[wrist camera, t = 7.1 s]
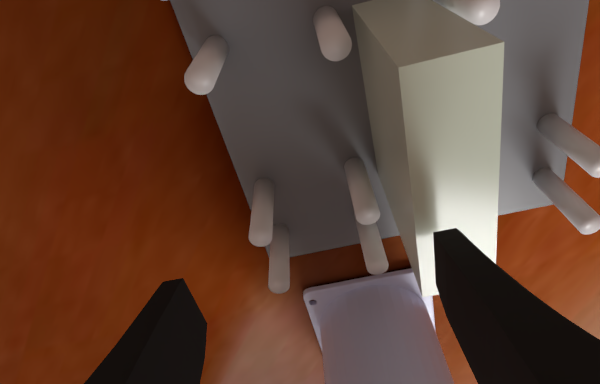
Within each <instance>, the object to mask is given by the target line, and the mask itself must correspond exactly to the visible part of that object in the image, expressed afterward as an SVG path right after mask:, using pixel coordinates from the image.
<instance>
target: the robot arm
mask: <svg viewBox="0 0 600 384" xmlns="http://www.w3.org/2000/svg"><path fill="white" fill-rule="evenodd" d="M433 238H434V258H435V278H436V286H437V289H438V292H439V295H440V298H441V301H442V304H443V307H444V310H445V313H446V316H447V318H448V321H449V323H450V325H451V327H452V329H453V331H454V333H455V336H456V338H457V340H458V342H459V344H460V346H461V348H462V350H463V353H464V355H465V357H466V359H467V361H468V363H469V365H470V367H471V369H472V372H473V374H474V376H475V378H476V380H477V382H478V384H600V340H599V339H597V338H596V337H594V336H593V335H591V334H589V333H588V332H586V331H585V330H583V329H582V328H580V327H579V326H577V325H576V324H574V323H572V322H571V321H569V320H568V319H567V318H565V317H564V316H562V315H561V314H559V313H558V312H557V311H555V310H554V309H552V308H551V307H549V306H548V305H547V304H545V303H544V302H543V301H541V300H540V299H539V298H537V297H536V296H535V295H533V294H532V293H531V292H529V291H528V290H527V289H526V288H524V287H523V286H522V285H521V284H519V283H518V282H517V281H516V280H514V279H513V278H512V277H511V276H510V275H508V274H507V273H506V272H505V271H504V270H502V269H501V268H500V267H499V266H498V265H497V264H495V263H494V262H493V261H492V260H491V259H490V258H489V257H487V256H486V255H485V254H484V253H483V252H482V251H481V250H480V249H479V248H478V247H476V246H475V245H474V244H473V243H472V242H471V241H470V240H469V239H468V238H467V237H466V236H465V235H464V234H463V233H462V232H461V231H460V230H458V229H457V228H453V229H448V230H442V231H437V232H433ZM303 299H304V302H305V304H306V307H307V310H308V313H309V316H310V319H311V322H312V325H313V327H314V330H315V333H316V336H317V339H318V342H319V345H320V348H321V350H322V355H323V367H324V379H325V384H454V382H453V379H452V376H451V374H450V371H449V368H448V365H447V363H446V360H445V357H444V354H443V351H442V349H441V346H440V343H439V340H438V338H437V335H436V330H435V319H434V308H433V297H432V296H427V297H422V295H421V292H420V289H419V287H418V284H417V281H416V278H415V275H414V273H413V270H412V268H410V269H404V270H399V271H394V272H389V273H384V274H379V275H373V276H368V277H363V278H358V279H352V280H347V281H342V282H337V283H332V284H326V285H321V286H316V287H311V288H307V289H305V290H304V292H303ZM311 300H313V301H311ZM206 331H207V323H206V321H205V319H204V317H203V315H202V313H201V311H200V309H199V308H198V306H197V304H196V302H195V300H194V298H193V296H192V294H191V292H190V291H189V289H188V287H187V285H186V283H185V281H184V279H183V278H182V279H176V280H171V281H165V282H163V283H162V284H161V285H160V287H159V288H158V289H157V290H156V292H155V293H154V294H153V296H152V297H151V299H150V300H149V301H148V303H147V304H146V305H145V307H144V308H143V309H142V311H141V312H140V314H139V315H138V316H137V318H136V319H135V320H134V322H133V323H132V324H131V326H130V327H129V328H128V330H127V331H126V332H125V334H124V335H123V336H122V338H121V339H120V340H119V342H118V343H117V344H116V345H115V347H114V348H113V349H112V350H111V352H110V353H109V354H108V355H107V356H106V358H105V359H104V360H103V361H102V363H101V364H100V365H99V366H98V367H97V369H96V370H95V371H94V372H93V374H92V375H91V376H90V377H89V378H88V380H87V381H86V382H85V383H84V384H200V379H201V374H202V369H203V364H204V358H205V347H206Z"/></svg>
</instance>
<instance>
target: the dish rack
mask: <svg viewBox="0 0 600 384" xmlns="http://www.w3.org/2000/svg"><path fill="white" fill-rule="evenodd" d="M162 1H167V0H162ZM170 1H171V4H172V7H173V9H174V12H175V14H176V17H177V20H178V22H179V25H180V27H181V30H182V33H183V35H184V38H185V40H186V43H187V46H188V48H189V51H190V53H191V56H192V59H193V61H192V63H191V64H190V66H189V67H188V69H187V70H186V72H185V75H184V81H185V84H186V86H187V88H188V89H189V90H190V91H191V92H193V93H195V94H198V95H205V94H206V95H207V97H208V100H209V103H210V105H211V108H212V110H213V113H214V116H215V118H216V121H217V123H218V126H219V129H220V131H221V134H222V136H223V139H224V142H225V144H226V147H227V149H228V152H229V155H230V157H231V160H232V162H233V165H234V168H235V170H236V173H237V175H238V178H239V181H240V183H241V186H242V188H243V191H244V194H245V196H246V199H247V201H248V204H249V207H250V209H251V220H250V229H249V241H250V242H251V243H252V244H253V245H255V246H258V247H263V246H265V248H266V251H267V253H268V256H269V281H268V287H269V289H270V290H271V291H272V292H274V293H284V292H286V291H288V290H289V288H290V257H294V256H299V255H304V254H309V253H314V252H319V251H324V250H329V249H334V248H339V247H344V246H349V245H354V244H359V243H361V247H362V251H363V255H364V260H365V264H366V268H367V271H368V272H369V273H370V274H373V275H379V274H382V273H384V272H386V271H387V269H388V267H389V264H388V261H387V257H386V254H385V251H384V247H383V244H382V241H381V239H383V238H388V237H393V236H398V235H400V234H399V231H398V228H397V226H396V223H395V220H394V217H393V214H392V212H391V209H390V206H389V203H388V201H387V198H386V195H385V192H384V189H383V187H382V184H381V181H380V178H379V176H378V171H377V165H376V158H375V152H374V145H373V139H372V133H371V126H370V120H369V113H368V107H367V100H366V94H365V87H364V81H363V75H362V68H361V62H360V55H359V49H358V42H357V36H356V30H355V23H354V17H353V10H352V5H355V4H359V3H363V2H367V1H371V0H170ZM432 1H434V2H436V3H437V4H439V5H441V6H443V7H444V8H446V9H448V10H450V11H451V12H453V13H455V14H457V15H458V16H460V17H462V18H464V19H465V20H467V21H469V22H471V23H472V24H474V25H476V26H478V27H479V28H481V29H483V30H485V31H486V32H488V33H490V34H492V35H493V36H495V37H497V38H498V39H500V40H502V41H504V67H503V93H502V118H501V144H500V169H499V195H498V215H503V214H508V213H513V212H518V211H523V210H528V209H533V208H538V207H543V206H548V205H552V204H554V205H555V206H556V207H557V208H558V209H559V210H560V211H561V212H562V213H563V214H564V215H565V217H566V218H567V219H568V220H569V221H570V222H571V223H572V224H573V225H574V226H575V227H576V228H577V229H578V230H579V232H580V233H582V234H592V233H594V232H596V231H598V230H599V229H600V216H599V215H598V214H597V213H596V212H595V211H594V210H593V209H592V208H591V207H590V206H589V205H588V204H587V203H586V202H585V201H584V200H583V199H582V198H581V197H579V196H578V195H577V194H576V193H575V192H574V191H573V190H572V189H571V188H570V187H569V186H568V185H567V184H566V183H565V182H564V176H565V168H566V161H567V155H568V156H569V157H570V158H571V159H572V160H573V161H575V162H576V163H577V164H578V165H579V166H581V167H582V168H583V169H584V170H585V171H586V172H588V173H589V174H590V175H591V176H593V177H597V178H598V177H600V146H599V145H597V144H596V143H595V142H593V141H592V140H590V139H589V138H588V137H586V136H585V135H584V134H582V133H581V132H579V131H578V130H577V129H575V128H574V127H573V126H572V118H573V111H574V104H575V97H576V90H577V83H578V76H579V69H580V61H581V54H582V47H583V40H584V33H585V26H586V19H587V12H588V4H589V0H432Z"/></svg>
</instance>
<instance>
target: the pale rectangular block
mask: <svg viewBox="0 0 600 384" xmlns="http://www.w3.org/2000/svg"><path fill="white" fill-rule="evenodd" d="M352 10H353V17H354V23H355V30H356V36H357V42H358V49H359V55H360V62H361V68H362V75H363V81H364V87H365V94H366V100H367V107H368V113H369V120H370V126H371V133H372V139H373V145H374V152H375V158H376V165H377V171H378V176H379V178H380V181H381V184H382V187H383V189H384V192H385V195H386V198H387V201H388V203H389V206H390V209H391V212H392V214H393V217H394V220H395V223H396V226H397V228H398V231H399V234H400V237H401V239H402V242H403V245H404V248H405V250H406V253H407V256H408V259H409V262H410V264H411V267H412V270H413V273H414V275H415V278H416V281H417V284H418V287H419V289H420V292H421V295H422V297H427V296H432V295H438V294H439V292H438V289H437V286H436V278H435V258H434V238H433V232H437V231H442V230H448V229H453V228H457V229H458V230H460V231H461V232H462V233H463V234H464V235H465V236H466V237H467V238H468V239H469V240H470V241H471V242H472V243H473V244H474V245H475V246H476V247H478V248H479V249H480V250H481V251H482V252H483V253H484V254H485V255H486V256H487V257H489V258H490V259H491V260H492V261H493V262H494V263H495V264H496V246H497V221H498V195H499V169H500V144H501V118H502V93H503V67H504V41H502V40H500V39H498V38H497V37H495V36H493V35H492V34H490V33H488V32H486V31H485V30H483V29H481V28H479V27H478V26H476V25H474V24H472V23H471V22H469V21H467V20H465V19H464V18H462V17H460V16H458V15H457V14H455V13H453V12H451V11H450V10H448V9H446V8H444V7H443V6H441V5H439V4H437V3H436V2H434V1H432V0H371V1H367V2H363V3H359V4H355V5H352Z"/></svg>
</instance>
